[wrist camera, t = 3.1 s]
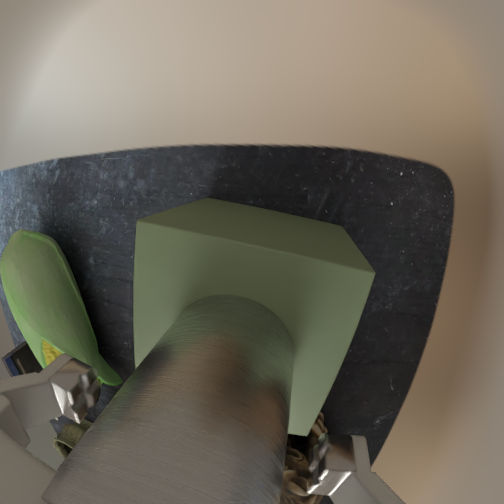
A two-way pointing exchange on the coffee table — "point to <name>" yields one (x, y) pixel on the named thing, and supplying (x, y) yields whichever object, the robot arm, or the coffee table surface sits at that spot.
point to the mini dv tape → (21, 361)
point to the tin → (193, 416)
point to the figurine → (300, 467)
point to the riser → (255, 283)
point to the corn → (49, 303)
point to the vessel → (70, 436)
